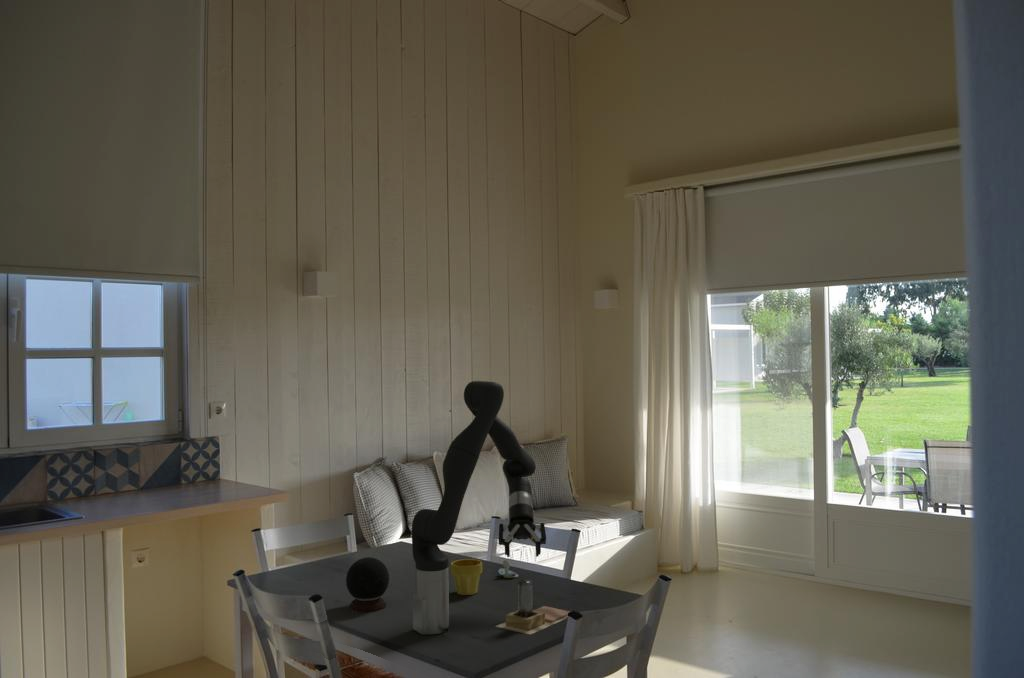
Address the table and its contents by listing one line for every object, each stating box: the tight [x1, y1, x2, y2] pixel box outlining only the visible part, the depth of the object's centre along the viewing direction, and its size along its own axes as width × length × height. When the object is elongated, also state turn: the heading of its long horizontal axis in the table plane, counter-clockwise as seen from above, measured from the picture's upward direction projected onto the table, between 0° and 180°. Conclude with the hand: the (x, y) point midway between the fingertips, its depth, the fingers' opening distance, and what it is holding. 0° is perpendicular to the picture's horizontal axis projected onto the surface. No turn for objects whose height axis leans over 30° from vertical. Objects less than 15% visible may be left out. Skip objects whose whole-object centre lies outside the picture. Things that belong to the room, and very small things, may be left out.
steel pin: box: [517, 579, 533, 618], centre depth 225 cm, size 4×4×12 cm
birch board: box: [495, 605, 571, 635], centre depth 230 cm, size 23×12×4 cm, turn 142°
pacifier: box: [498, 559, 519, 579], centre depth 283 cm, size 7×6×6 cm
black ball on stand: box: [345, 556, 390, 613], centre depth 249 cm, size 13×13×15 cm
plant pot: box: [450, 558, 483, 596], centre depth 263 cm, size 10×10×10 cm
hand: (523, 555), depth 238 cm, fingers open, 8 cm apart
